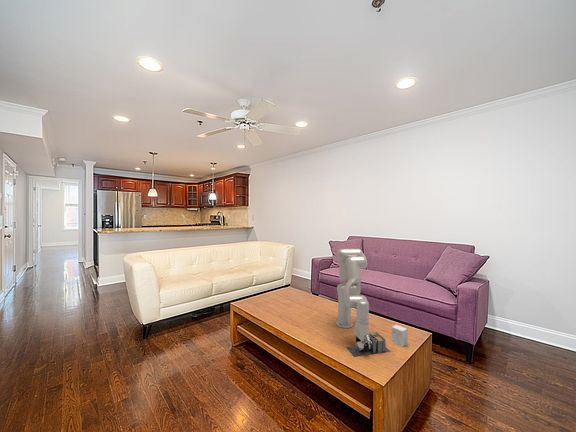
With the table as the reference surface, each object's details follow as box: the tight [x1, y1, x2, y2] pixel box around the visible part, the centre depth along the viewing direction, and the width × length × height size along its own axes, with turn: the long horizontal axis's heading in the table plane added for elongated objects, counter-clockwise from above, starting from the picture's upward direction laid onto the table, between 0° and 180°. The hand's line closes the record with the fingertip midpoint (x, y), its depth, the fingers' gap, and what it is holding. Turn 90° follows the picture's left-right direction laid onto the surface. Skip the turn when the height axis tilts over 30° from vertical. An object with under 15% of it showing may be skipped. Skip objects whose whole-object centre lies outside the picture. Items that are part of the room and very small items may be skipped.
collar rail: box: [345, 331, 392, 358], centre depth 161 cm, size 11×25×9 cm, turn 103°
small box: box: [391, 324, 408, 347], centre depth 169 cm, size 8×6×10 cm
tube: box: [355, 340, 387, 351], centre depth 162 cm, size 18×5×5 cm, turn 103°
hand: (362, 346), depth 161 cm, fingers open, 9 cm apart
